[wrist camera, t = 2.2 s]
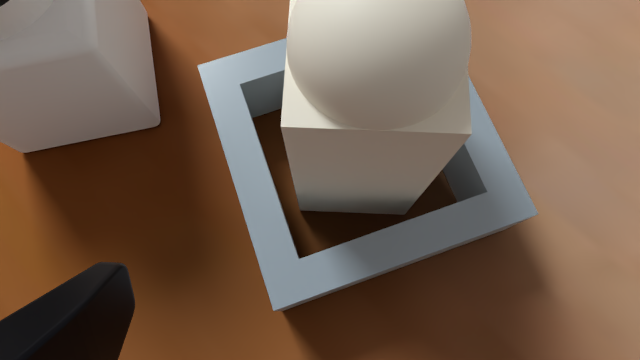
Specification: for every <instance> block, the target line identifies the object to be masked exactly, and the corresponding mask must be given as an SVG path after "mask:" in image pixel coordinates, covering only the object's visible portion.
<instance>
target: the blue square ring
mask: <svg viewBox="0 0 640 360" xmlns="http://www.w3.org/2000/svg"><path fill="white" fill-rule="evenodd" d="M286 48H287V38H285V39H282V40H279V41H276V42H272V43H269V44H266V45H263V46H259V47H256V48H253V49H250V50H246V51H243V52H240V53H237V54H233V55H230V56H227V57H224V58H220V59H217V60H214V61H211V62H208V63H204V64H201V65H198V69H199V72H200V75H201V79H202V82H203V85H204V88H205V92H206V95H207V98H208V101H209V105H210V108H211V111H212V114H213V117H214V121H215V124H216V127H217V130H218V134H219V137H220V140H221V143H222V146H223V150H224V153H225V156H226V159H227V163H228V166H229V169H230V172H231V175H232V179H233V182H234V185H235V188H236V192H237V195H238V198H239V201H240V204H241V208H242V211H243V214H244V217H245V221H246V224H247V227H248V230H249V233H250V237H251V240H252V243H253V246H254V250H255V253H256V256H257V259H258V262H259V266H260V269H261V272H262V275H263V279H264V282H265V285H266V288H267V291H268V295H269V298H270V301H271V304H272V308H273V311H284V310H287V309H289V308H292V307H295V306H297V305H300V304H303V303H306V302H308V301H311V300H314V299H317V298H319V297H322V296H325V295H327V294H330V293H333V292H336V291H338V290H341V289H344V288H347V287H349V286H352V285H355V284H358V283H360V282H363V281H366V280H368V279H371V278H374V277H377V276H379V275H382V274H385V273H388V272H390V271H393V270H396V269H398V268H401V267H404V266H407V265H409V264H412V263H415V262H418V261H420V260H423V259H426V258H429V257H431V256H434V255H437V254H439V253H442V252H445V251H448V250H450V249H453V248H456V247H459V246H461V245H464V244H467V243H470V242H472V241H475V240H478V239H480V238H483V237H486V236H489V235H491V234H494V233H497V232H500V231H502V230H505V229H507V228H509V227H511V226H514V225H516V224H518V223H520V222H522V221H524V220H527V219H529V218H531V217H533V216H535V215H538V212H537V210H536V208H535V206H534V204H533V202H532V200H531V198H530V196H529V194H528V192H527V190H526V188H525V187H524V185H523V183H522V181H521V179H520V177H519V175H518V173H517V171H516V169H515V167H514V165H513V163H512V161H511V159H510V157H509V155H508V153H507V151H506V149H505V147H504V145H503V143H502V141H501V139H500V137H499V135H498V133H497V131H496V129H495V127H494V125H493V123H492V121H491V119H490V117H489V116H488V114H487V112H486V110H485V108H484V106H483V104H482V102H481V100H480V98H479V96H478V94H477V92H476V90H475V88H474V86H473V84H472V82H471V80H470V78H469V76H468V78H469V95H470V112H471V129H472V134H471V136H470V137H469V138H468V139H467V140H466V142H465V143H464V144H463V145H462V146H461V148H460V149H459V150H458V151H457V152H456V154H455V155H454V156H453V157H452V158H451V160H450V161H449V162H448V163H447V164H446V166H445V167H444V168H443V169H442V170H443V172H444V174H445V176H446V178H447V181H448V183H449V185H450V187H451V189H452V192H453V194H454V196H455V198H456V200H457V203H455V204H452V205H449V206H446V207H444V208H441V209H438V210H435V211H432V212H430V213H427V214H424V215H421V216H418V217H416V218H413V219H410V220H407V221H404V222H401V223H399V224H396V225H393V226H390V227H387V228H385V229H382V230H379V231H376V232H373V233H371V234H368V235H365V236H362V237H359V238H357V239H354V240H351V241H348V242H345V243H343V244H340V245H337V246H334V247H331V248H329V249H326V250H323V251H320V252H317V253H315V254H312V255H309V256H306V257H303V258H299V255H298V252H297V249H296V246H295V243H294V240H293V237H292V235H291V232H290V229H289V226H288V223H287V220H286V217H285V214H284V211H283V208H282V205H281V202H280V199H279V196H278V193H277V190H276V187H275V184H274V181H273V178H272V175H271V172H270V169H269V166H268V163H267V160H266V158H265V155H264V152H263V149H262V146H261V143H260V140H259V137H258V134H257V131H256V128H255V125H254V122H253V119H252V118H253V117H257V116H260V115H263V114H266V113H269V112H272V111H275V110H278V109H281V108H282V101H283V88H284V74H285V61H286Z"/></svg>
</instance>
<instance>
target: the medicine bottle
mask: <svg viewBox="0 0 640 360" xmlns="http://www.w3.org/2000/svg"><path fill="white" fill-rule="evenodd" d="M160 120H161V119H160V111H159V103H158V95H157V87H156V80H155V72H154V64H153V56H152V48H151V40H150V32H149V24H148V16H147V12H146V10H145V8H144V6H143V5H142V3H141V1H140V0H0V142H2V143H4V144H6V145H8V146H10V147H12V148H13V149H15V150H17V151H19V152H23V153H27V152H32V151H37V150H42V149H47V148H52V147H57V146H62V145H67V144H72V143H77V142H82V141H87V140H92V139H97V138H102V137H107V136H112V135H117V134H122V133H127V132H132V131H137V130H142V129H147V128H152V127H156V126H158V125H159V124H160Z"/></svg>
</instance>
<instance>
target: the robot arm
mask: <svg viewBox="0 0 640 360" xmlns="http://www.w3.org/2000/svg"><path fill="white" fill-rule="evenodd" d="M134 309H135V298H134V294H133V290H132V285H131V281H130V277H129V272H128V269H127V267H126V266H125V265H124V264H123V263H114V262H100V263H97V264H95V265H93V266H92V267H90V268H88V269H87V270H85V271H83V272H81V273H80V274H78V275H76V276H75V277H73V278H71V279H70V280H68V281H66V282H65V283H63V284H61V285H60V286H58V287H56V288H55V289H53V290H51V291H50V292H48V293H46V294H44V295H43V296H41V297H39V298H38V299H36V300H34V301H33V302H31V303H29V304H28V305H26V306H24V307H23V308H21V309H19V310H18V311H16V312H14V313H12V314H11V315H9V316H7V317H6V318H4V319H2V320H1V321H0V360H118V358H119V355H120V352H121V349H122V346H123V343H124V340H125V337H126V334H127V331H128V328H129V325H130V323H131V320H132V317H133V313H134Z"/></svg>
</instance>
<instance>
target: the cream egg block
mask: <svg viewBox="0 0 640 360" xmlns="http://www.w3.org/2000/svg"><path fill="white" fill-rule="evenodd" d="M470 50H471V25H470V18H469V15H468V11H467V8H466V4H465V2H464V0H290V8H289V21H288V31H287V48H286V61H285V74H284V88H283V101H282V114H281V131H282V135H283V140H284V144H285V148H286V153H287V157H288V161H289V166H290V170H291V174H292V179H293V183H294V187H295V192H296V196H297V200H298V205H299V209H300V210H301V211H325V212H350V213H374V214H398V215H405V213H406V212H407V211H408V210H409V209H410V207H411V206H412V205H413V204H414V203H415V201H416V200H417V199H418V198H419V197H420V195H421V194H422V193H423V192H424V191H425V189H426V188H427V187H428V186H429V185H430V183H431V182H432V181H433V180H434V179H435V178H436V176H437V175H438V174H439V173H440V172H441V170H442V169H443V168H444V167H445V166H446V164H447V163H448V162H449V161H450V160H451V158H452V157H453V156H454V155H455V154H456V152H457V151H458V150H459V149H460V148H461V146H462V145H463V144H464V143H465V142H466V140H467V139H468V138H469V137H470V136H471V134H472V129H471V112H470V95H469V78H468V61H469V56H470Z"/></svg>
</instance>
